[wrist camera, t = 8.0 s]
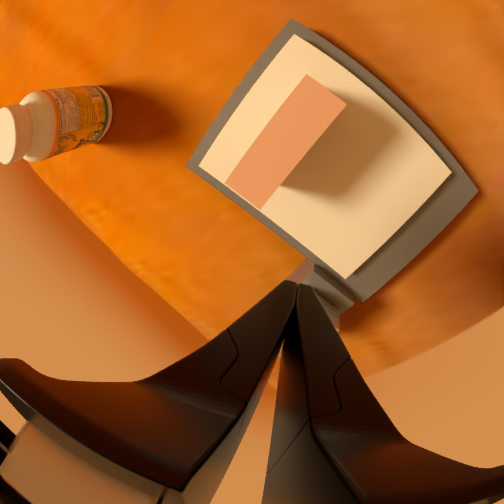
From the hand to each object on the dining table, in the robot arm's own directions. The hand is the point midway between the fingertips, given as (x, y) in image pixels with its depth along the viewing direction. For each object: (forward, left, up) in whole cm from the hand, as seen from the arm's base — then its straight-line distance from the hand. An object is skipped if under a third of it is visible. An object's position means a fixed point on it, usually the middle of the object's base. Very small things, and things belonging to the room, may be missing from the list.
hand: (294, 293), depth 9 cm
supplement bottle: (+19, +5, -12) cm, 23 cm away
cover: (+1, -3, -10) cm, 10 cm away
